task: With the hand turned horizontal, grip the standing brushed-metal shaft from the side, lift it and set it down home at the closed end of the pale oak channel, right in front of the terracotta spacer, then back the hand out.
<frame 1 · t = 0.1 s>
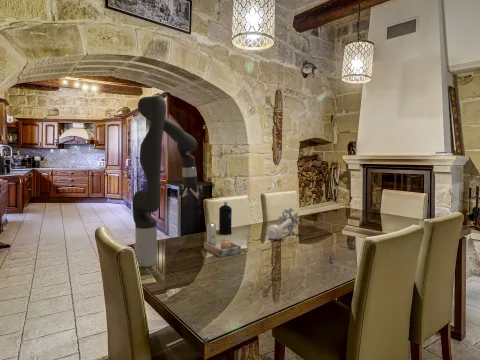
hand: (192, 204, 175), 22 cm above the table, tool pointing down, fingers open, 8 cm apart
channel: (222, 250, 165), on the table
shaft: (211, 245, 174), on the table
spacer: (225, 252, 162), resting in channel
aerosol can: (225, 233, 202), on the table
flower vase: (283, 237, 195), on the table
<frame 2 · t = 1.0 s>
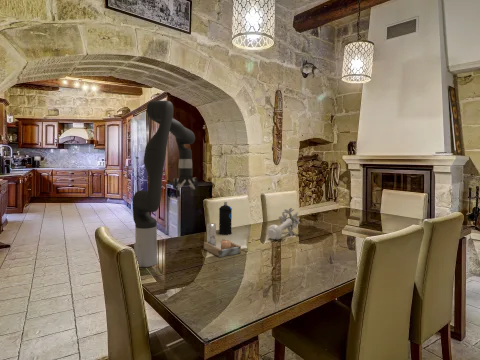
hand: (185, 196, 179), 26 cm above the table, tool pointing down, fingers open, 8 cm apart
nothing on the table moved.
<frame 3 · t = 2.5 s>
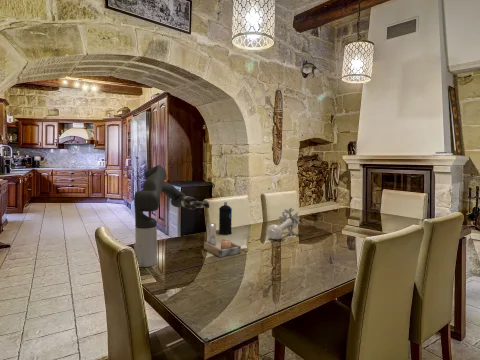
hand: (202, 206, 182), 20 cm above the table, tool horizontal, fingers open, 8 cm apart
nothing on the table moved.
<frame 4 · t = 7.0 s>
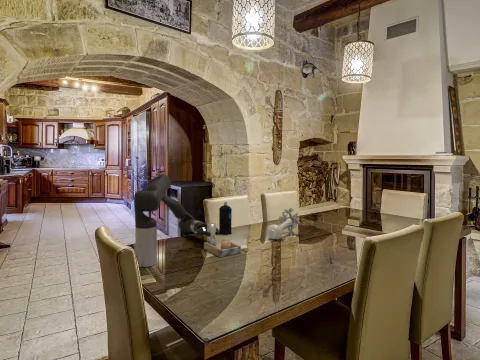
hand: (214, 234, 172), 7 cm above the table, tool horizontal, fingers closed on shaft, 4 cm apart
shaft: (211, 245, 174), on the table, touching gripper
everything else where it was.
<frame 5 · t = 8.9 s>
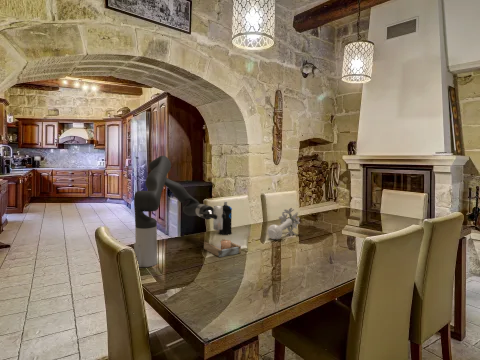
hand: (220, 216, 165), 18 cm above the table, tool horizontal, fingers closed on shaft, 4 cm apart
shaft: (217, 228, 168), point 11 cm above the table, touching gripper
everything else where it was.
when the fingers open (8 cm above the table, at t = 11.3 s): shaft drops 1 cm, on the table.
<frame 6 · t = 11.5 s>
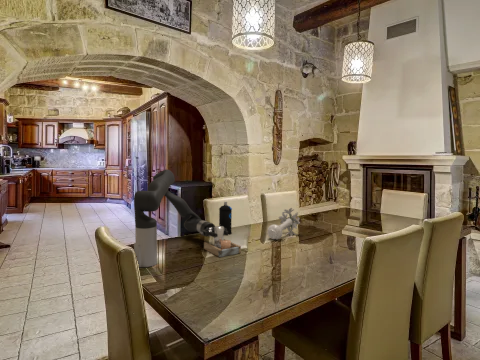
hand: (221, 234, 165), 8 cm above the table, tool horizontal, fingers open, 6 cm apart
shaft: (218, 249, 168), on the table
everything else where it was.
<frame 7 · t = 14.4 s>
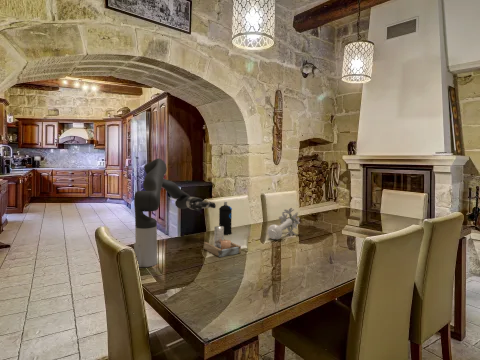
hand: (208, 206, 175), 21 cm above the table, tool horizontal, fingers open, 8 cm apart
nothing on the table moved.
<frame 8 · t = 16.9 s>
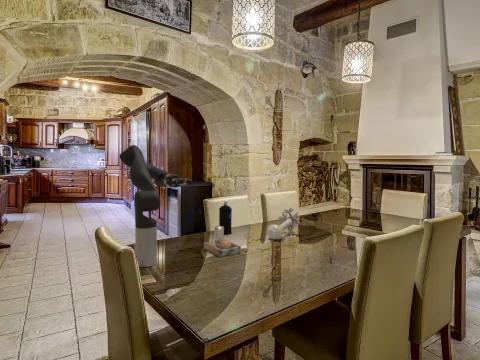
hand: (184, 182, 174), 34 cm above the table, tool horizontal, fingers open, 8 cm apart
nothing on the table moved.
at the end: shaft inside the target area (0.1 cm from its centre), on the table; shaft tilted 0°; the gripper is holding nothing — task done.
